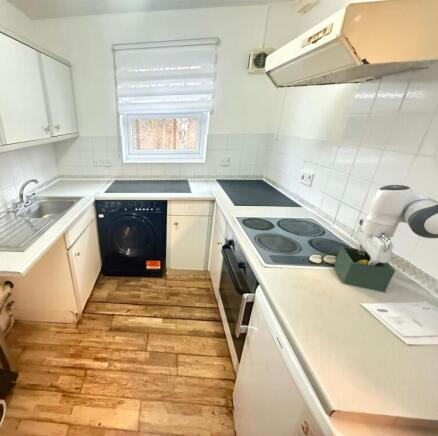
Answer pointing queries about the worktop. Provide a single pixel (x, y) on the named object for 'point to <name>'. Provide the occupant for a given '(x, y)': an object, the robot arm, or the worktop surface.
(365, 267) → the bin
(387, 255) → the robot arm
